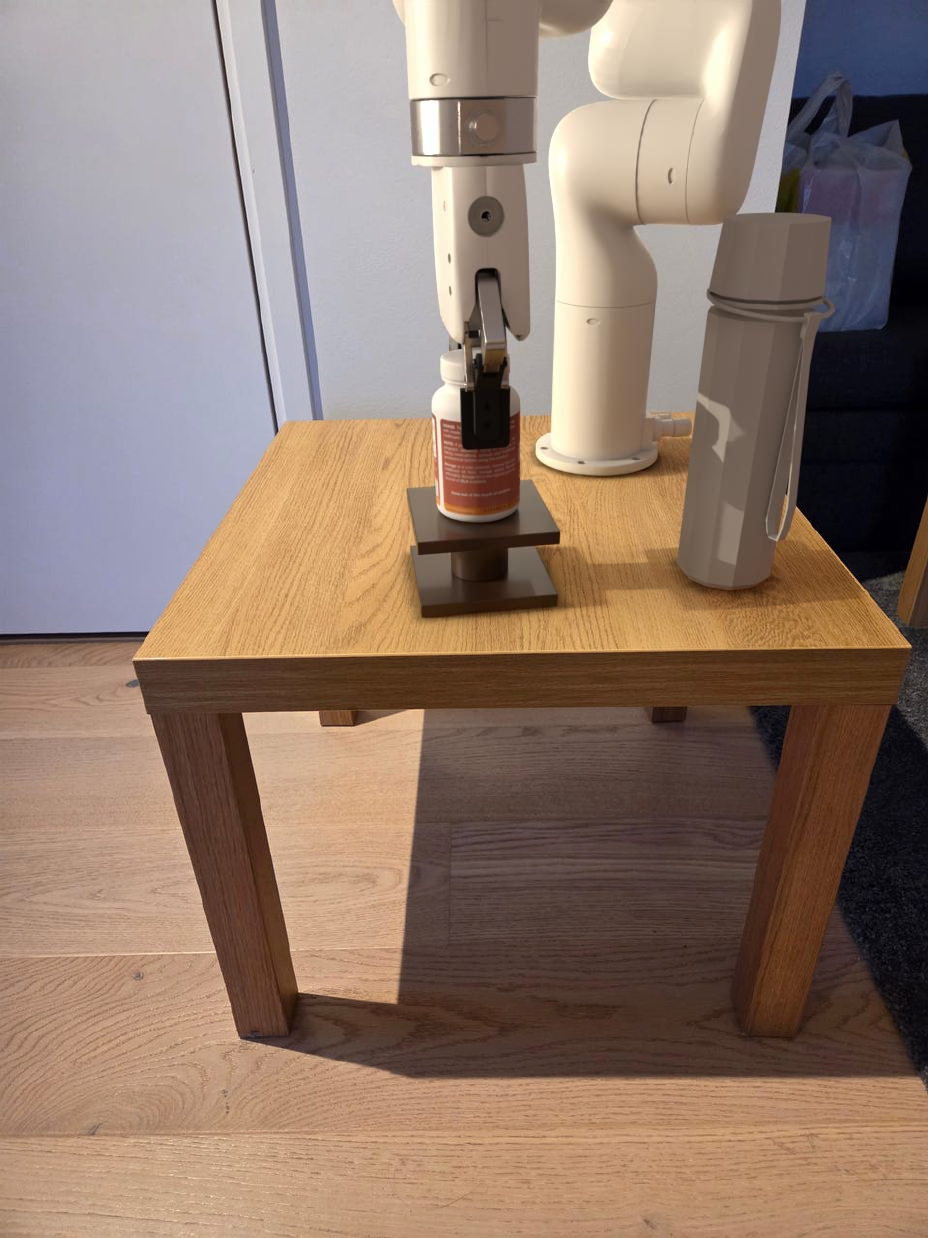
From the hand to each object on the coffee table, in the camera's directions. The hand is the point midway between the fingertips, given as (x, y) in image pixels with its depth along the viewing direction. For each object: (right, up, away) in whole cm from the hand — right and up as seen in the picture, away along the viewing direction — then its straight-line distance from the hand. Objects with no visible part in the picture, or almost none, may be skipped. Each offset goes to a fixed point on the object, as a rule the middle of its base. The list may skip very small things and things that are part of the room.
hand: (477, 428), depth 59 cm
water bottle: (+19, -10, +6) cm, 23 cm away
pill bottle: (0, -5, +3) cm, 6 cm away
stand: (0, -10, +6) cm, 12 cm away
